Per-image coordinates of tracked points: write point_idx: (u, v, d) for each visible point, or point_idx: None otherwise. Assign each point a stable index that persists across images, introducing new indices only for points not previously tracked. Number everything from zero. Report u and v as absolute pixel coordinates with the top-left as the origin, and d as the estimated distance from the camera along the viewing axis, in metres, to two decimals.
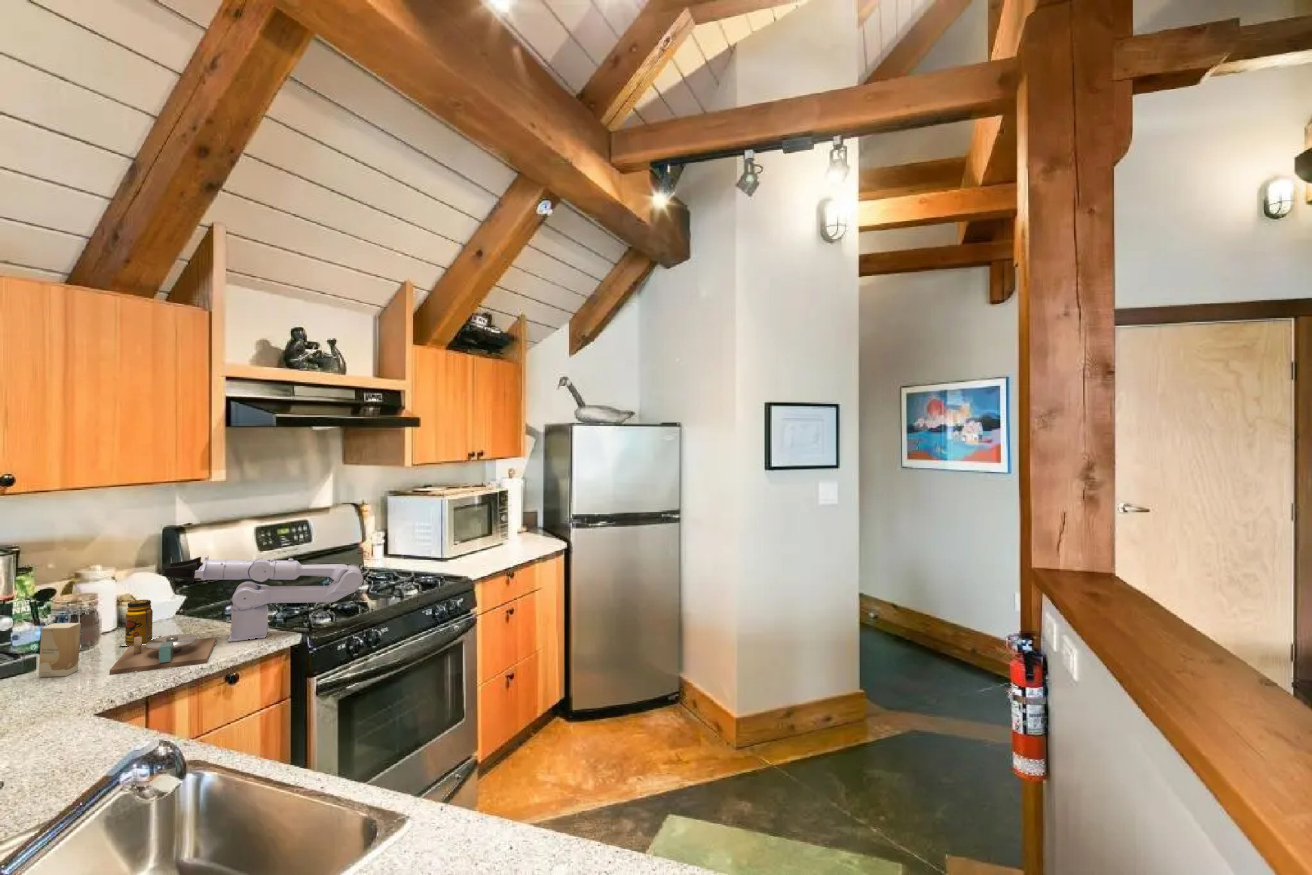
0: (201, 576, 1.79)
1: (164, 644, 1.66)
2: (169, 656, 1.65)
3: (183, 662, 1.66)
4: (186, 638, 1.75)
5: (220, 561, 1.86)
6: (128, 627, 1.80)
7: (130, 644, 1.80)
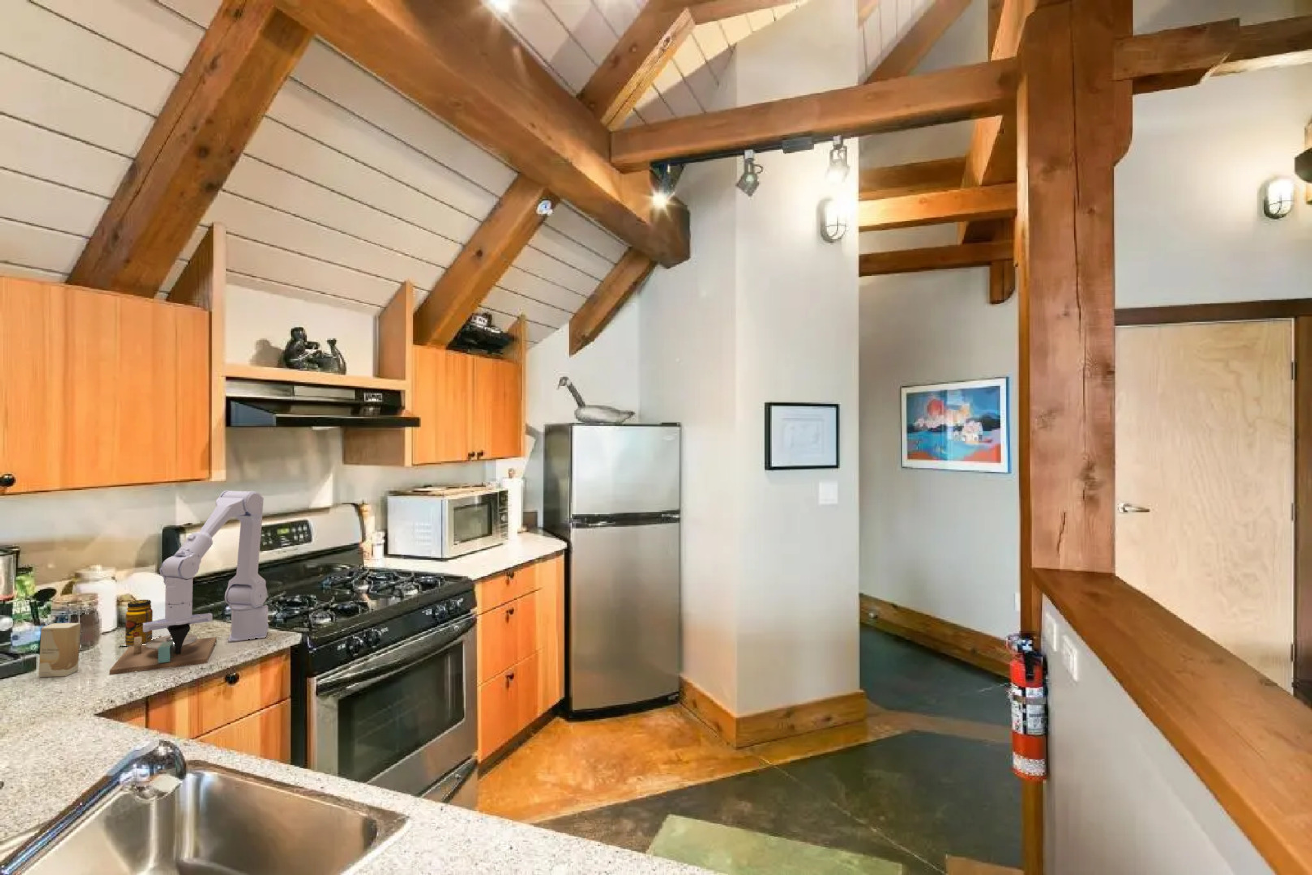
0: None
1: (164, 644, 1.66)
2: (168, 656, 1.65)
3: (183, 662, 1.66)
4: (186, 638, 1.75)
5: (185, 607, 1.66)
6: (128, 627, 1.80)
7: (130, 644, 1.80)
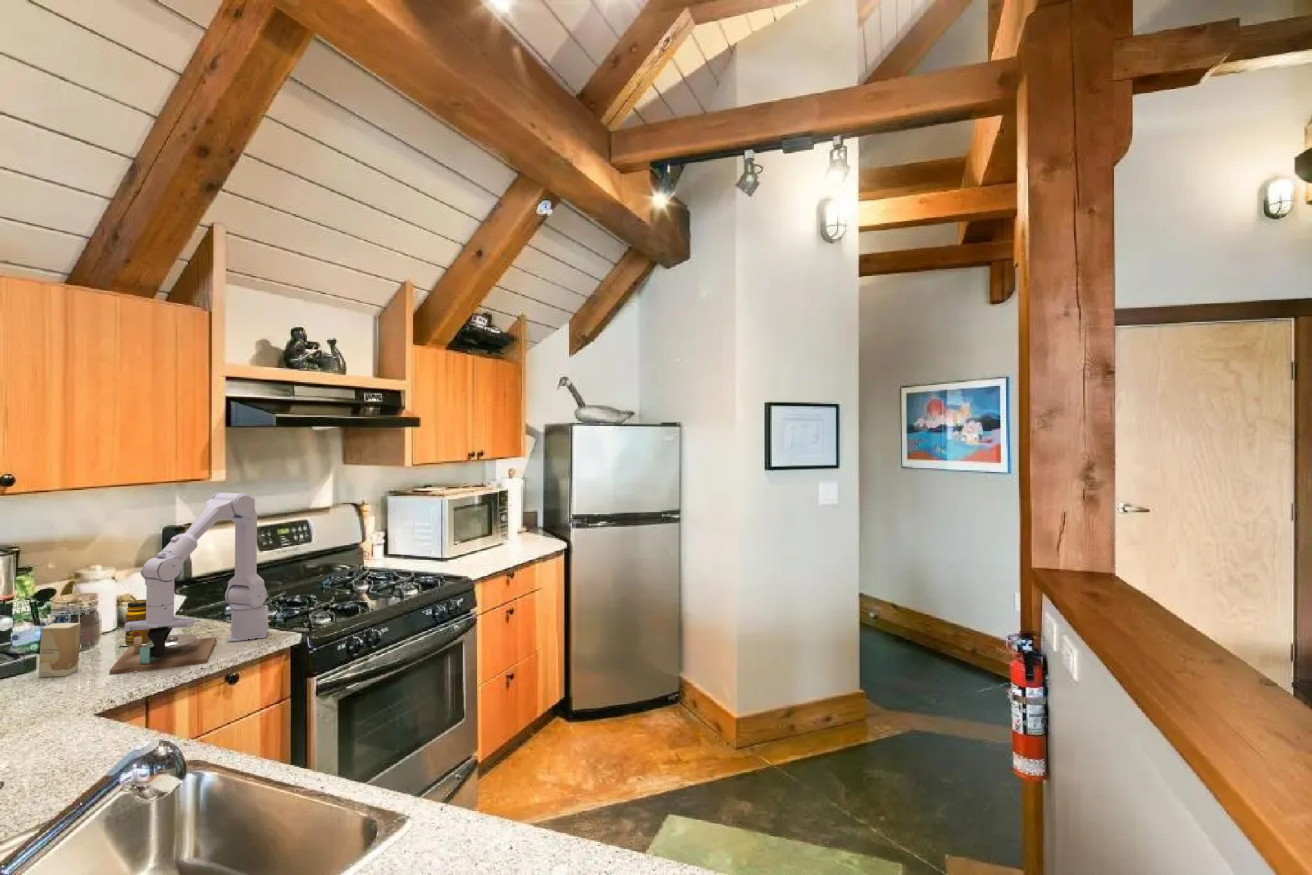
0: (193, 619, 1.68)
1: (149, 645, 1.65)
2: (148, 658, 1.63)
3: (183, 662, 1.66)
4: (184, 640, 1.73)
5: (160, 611, 1.63)
6: None
7: (130, 644, 1.80)
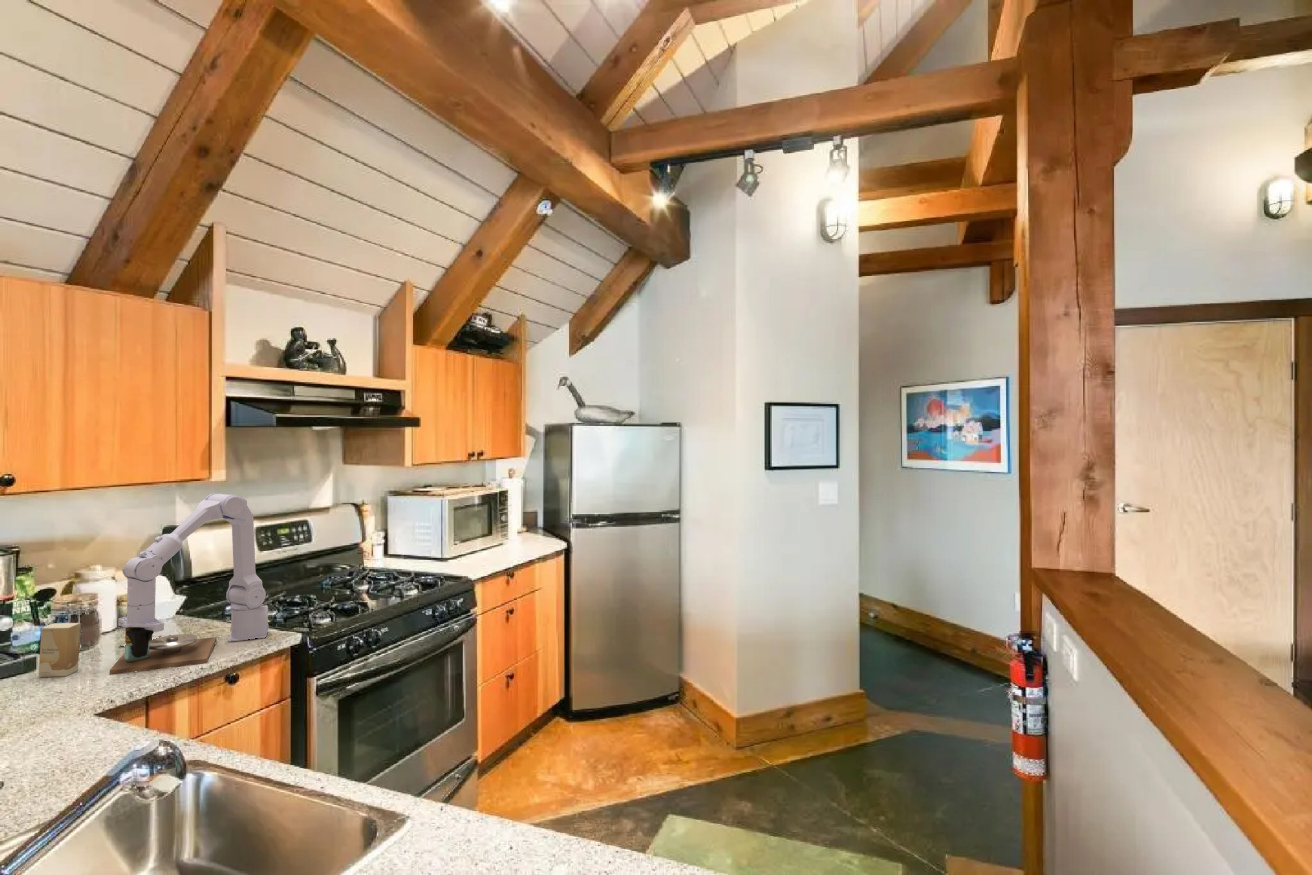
0: (162, 624, 1.63)
1: None
2: (128, 656, 1.64)
3: (183, 662, 1.66)
4: (178, 642, 1.72)
5: (132, 611, 1.62)
6: (128, 627, 1.80)
7: None
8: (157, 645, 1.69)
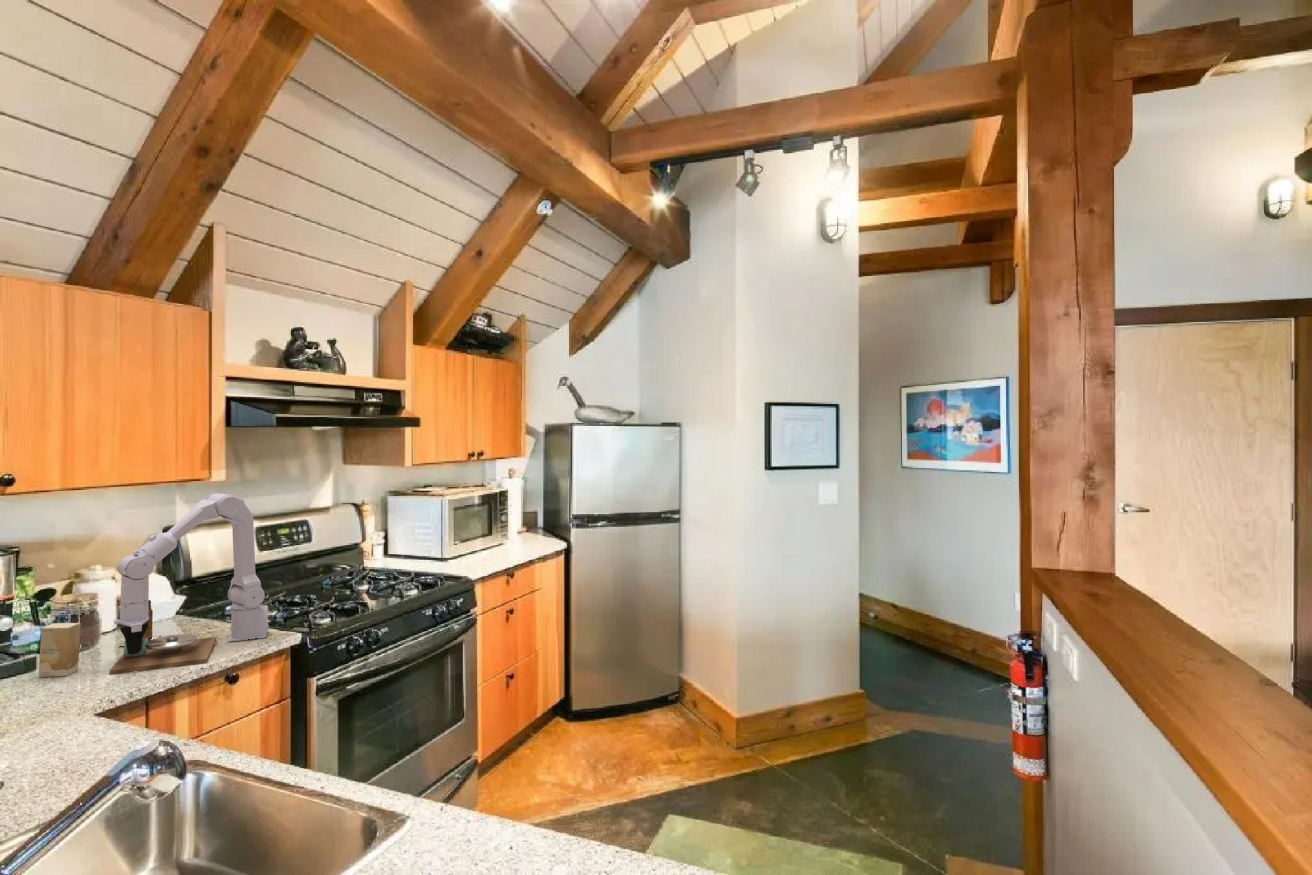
0: (139, 625, 1.62)
1: None
2: (124, 652, 1.67)
3: (183, 662, 1.66)
4: (171, 643, 1.70)
5: (122, 608, 1.65)
6: None
7: None
8: (152, 644, 1.69)
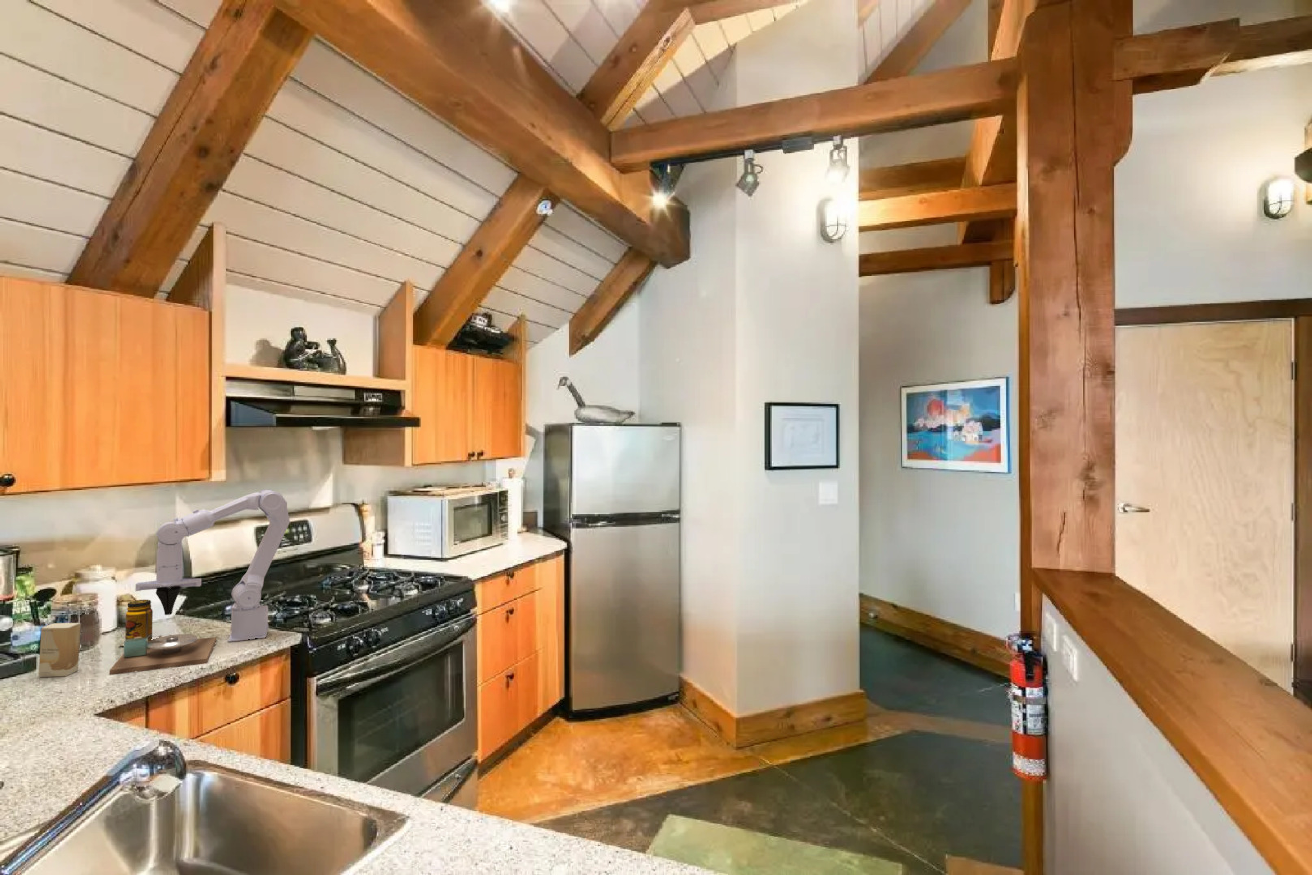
0: None
1: (136, 639, 1.70)
2: (124, 651, 1.67)
3: (183, 662, 1.66)
4: (171, 643, 1.70)
5: (172, 571, 1.76)
6: (128, 627, 1.80)
7: None
8: (152, 644, 1.69)
